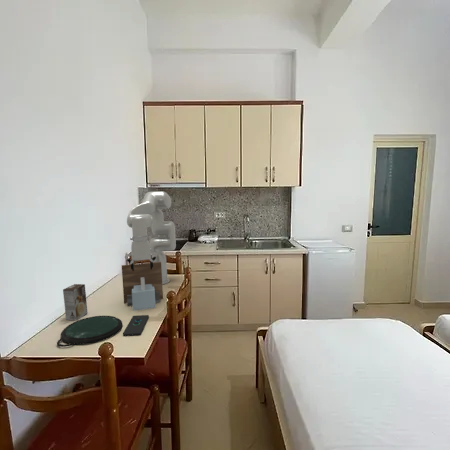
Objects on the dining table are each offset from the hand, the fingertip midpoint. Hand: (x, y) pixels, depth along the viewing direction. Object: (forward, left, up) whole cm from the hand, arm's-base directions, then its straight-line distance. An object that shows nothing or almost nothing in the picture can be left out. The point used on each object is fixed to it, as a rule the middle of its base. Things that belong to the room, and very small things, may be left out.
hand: (142, 269), depth 170 cm
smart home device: (+24, -4, -22) cm, 33 cm away
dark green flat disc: (+24, -25, -22) cm, 41 cm away
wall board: (-7, 0, -21) cm, 22 cm away
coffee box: (+2, -34, -21) cm, 40 cm away
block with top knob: (-2, 0, -21) cm, 21 cm away
